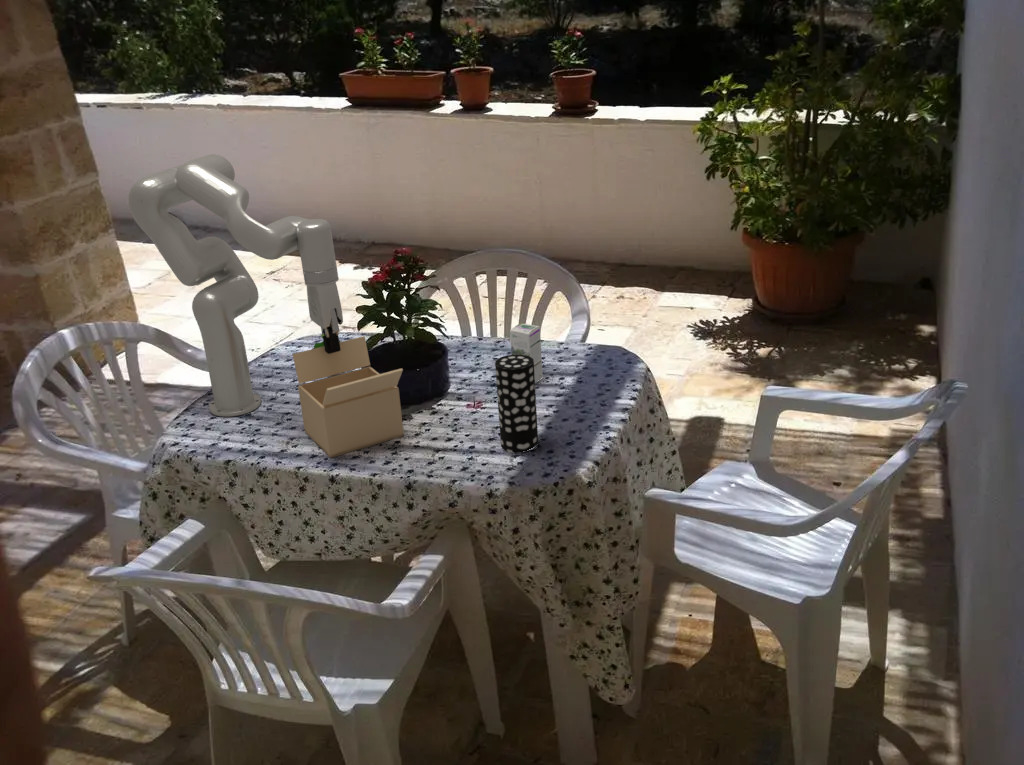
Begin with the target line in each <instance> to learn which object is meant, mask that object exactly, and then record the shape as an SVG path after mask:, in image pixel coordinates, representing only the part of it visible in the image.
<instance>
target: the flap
mask: <svg viewBox="0 0 1024 765" xmlns="http://www.w3.org/2000/svg"><path fill="white" fill-rule="evenodd" d="M339 343H340V349H341V350H340V351H338V352H334V353H331V354H328V353H327V352H325V347H324V346H323V347H319V348H315V349H313V348H310V349H307V350H304V351H299V352H294V353H292V357H293V358H292V359H293V362H294V366H295V368H294V369H295V371H296V377H297V381H298V385H302V384H306V383H309V382H313V381H317V380H321V379H324V378H328V377H332V376H336V375H340V374H343V373H347V372H351V371H355V370H358V369H362V368H366V367H370V366H371V362H370V356H369V352H368V347H367V346H368V345H367V340H366V336H364V335H363V336H359V337H355V338H351V339H347V340H343V341H340V342H339Z"/></svg>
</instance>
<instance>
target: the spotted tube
mask: <svg viewBox="0 0 1024 765" xmlns="http://www.w3.org/2000/svg"><path fill="white" fill-rule="evenodd" d="M494 367H495V380H496V381H495V382H496V393H497V395H496V396H497V406H498V407H497V408H498V409H497V411H498V422H499V434H500V435H499V436H500V438H499V439H500V448H501V447H502V448H501V449H502V450H503V449H504V450H503V451H505V452H507V451H508V453H510V452H515V453H514V454H517V453H516V452H523V451H527V450H529V449H531V448H533V447H535V446H536V445H537V444H538V445H539V434H538V433H539V432H538V416H537V415H538V414H537V411H538V410H537V396H536V394H537V393H536V384H535V374H534V360H533V358H531V357H530V356H527V355H520V354H514V355H512V354H507V355H503V356H500V357H499V358H496V360H495V362H494Z"/></svg>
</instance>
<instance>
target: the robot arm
mask: <svg viewBox="0 0 1024 765" xmlns="http://www.w3.org/2000/svg"><path fill="white" fill-rule="evenodd" d="M235 174H236V173H235V170H234V166H233V164H232V163H231V162H230V160H228V159H227V158H225V157H224V156H223V155H219V154H215V153H214V154H212V153H211V154H207V155H204V156H201V157H197V158H194V159H192V160H189V161H187V162H185V163H183V164H180V165H177V166H174V167H171V168H167V169H165V170H162V171H157V172H154V173H152V174H149V175H146V176H143V177H142V178H140V179H138V180H136V182H134V183H133V184H132V186H131V188H130V190H129V191H128V192H129V193H128V198H127V199H128V201H127V202H128V207H129V211H130V213H131V216H132V218H133V220H134V221H135V223H136V225H138V227H140V229H141V230H142V232H143V233H145V235H146V236H148V237H149V239H150V240H151V242H152V243H153V244H154V245H155V247H156V249H157V250H158V253H160V255H161V256H162V258H163V259H164V261H165V262H166V264H167V265H168V267H169V268H170V270H171V272H173V274H174V275H175V277H176V278H177V280H178V281H179V282H180V283H181V284H182V285H184V286H187V287H195V286H198V285H201V284H203V283H206V282H207V281H210V280H212V279H214V280H215V281H216V282H214V283H212V284H209V285H208V286H205V287H204V288H202V289H201V290H199V291H198V292H197V293H196V294H195V296H194V297H193V299H192V302H191V310H192V313H193V316H194V319H195V321H196V323H197V326H198V328H199V331H200V335H201V339H202V344H203V348H204V355H205V358H206V364H207V369H208V374H209V381H210V384H211V385H210V386H211V391H212V395H213V400H212V401H211V402H209V404H208V409H209V410H208V411H209V412H210V414H212V415H214V416H217V417H222V418H223V417H225V418H227V417H237V416H241V415H245V414H248V413H250V412H253V411H255V410H256V409H258V408H259V407H260V406H261V403H262V399H261V396H260V395H259V394H258V393H254V389H253V383H252V379H251V378H252V377H251V373H250V366H249V361H248V356H247V350H246V344H245V339H244V335H243V333H242V331H241V330H240V329H239V327H238V326H237V324H236V323H235V319H237V318H238V317H239V316H242V315H243V314H245V313H247V312H248V311H250V310H252V309H253V308H254V307H256V305H257V303H258V301H259V298H260V297H259V291H258V287H257V284H256V283H255V281H254V279H253V278H252V276H251V275H250V274H249V272H248V270H247V268H246V267H245V266H244V264H243V262H242V261H241V259H240V258H239V257H238V255H237V254H236V251H234V248H232V246H231V245H230V244H229V243H227V242H226V241H225V240H223V239H222V238H220V237H217V236H206V237H204V238H201V239H199V240H197V239H196V238H195V237H194V235H193V234H192V233H191V232H190V229H189V228H188V226H187V225H186V224H185V223H184V222H183V221H182V220H181V219H180V218H178V217H177V216H175V215H174V214H172V213H169V211H168V209H171V208H173V207H177V206H179V205H182V204H184V203H187V202H190V201H194V202H195V203H197V204H198V205H200V206H202V207H204V208H205V209H207V210H209V211H210V212H212V213H214V214H215V215H217V216H218V217H220V218H221V219H223V220H224V221H225V225H226V226H227V229H228V231H229V233H230V235H231V236H232V237H233V238H234V240H235V241H236V242H237V243H238V244H239V245H240V246H241V247H242V248H244V249H246V250H248V251H249V252H251V253H253V254H254V255H255V256H258V257H259V258H262V259H264V260H269V261H271V260H272V261H274V260H278V259H280V258H283V257H284V256H286V255H288V254H290V253H292V252H293V253H294V252H295V251H296V252H297V251H298V250H299V255H300V261H301V268H302V274H303V279H304V284H305V286H306V295H307V296H306V297H307V303H308V314H309V319H310V320H311V321H312V322H313V323H314V324H316V325H317V326H319V328H320V330H321V335H325V336H323V338H322V339H323V340H322V342H323V341H324V347H325V352H327V353H328V354H331V353H334V352H338V351H340V350H341V349H340V343H339V341H340V338H339V337H340V336H339V333H340V326H341V325H343V322H344V316H343V309H342V304H341V303H342V302H341V298H340V293H339V290H338V284H337V282H338V281H339V273H338V266H337V261H336V253H335V245H334V240H333V234H332V228H331V227H332V226H331V224H330V222H329V221H328V220H326V219H324V218H305V217H301V216H298V215H289V216H286V217H283V218H281V219H277V220H275V221H273V222H270V223H268V224H267V225H264V224H262V223H261V222H259V221H257V220H255V219H254V218H252V217H251V216H249V214H247V213H246V210H247V208H248V205H249V203H250V194H249V191H248V190H247V188H246V187H244V186H243V185H241V184H239V183H237V182H236V181H235V178H236V177H235V176H236V175H235Z"/></svg>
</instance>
